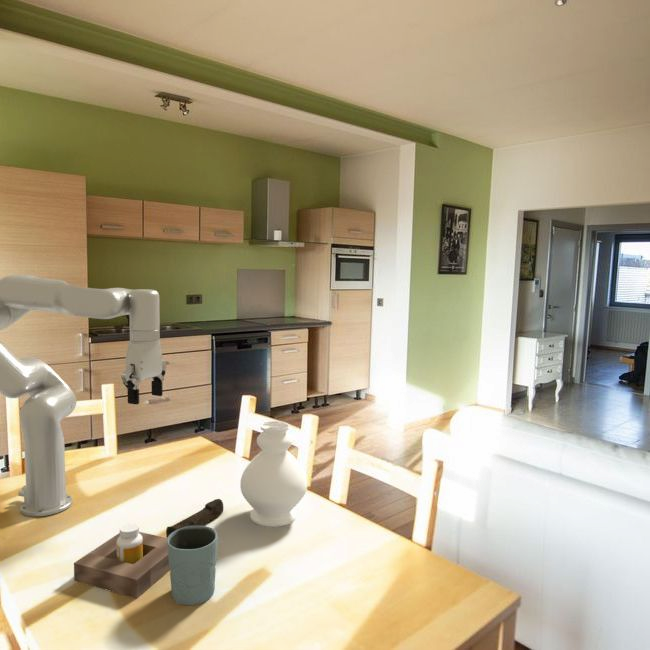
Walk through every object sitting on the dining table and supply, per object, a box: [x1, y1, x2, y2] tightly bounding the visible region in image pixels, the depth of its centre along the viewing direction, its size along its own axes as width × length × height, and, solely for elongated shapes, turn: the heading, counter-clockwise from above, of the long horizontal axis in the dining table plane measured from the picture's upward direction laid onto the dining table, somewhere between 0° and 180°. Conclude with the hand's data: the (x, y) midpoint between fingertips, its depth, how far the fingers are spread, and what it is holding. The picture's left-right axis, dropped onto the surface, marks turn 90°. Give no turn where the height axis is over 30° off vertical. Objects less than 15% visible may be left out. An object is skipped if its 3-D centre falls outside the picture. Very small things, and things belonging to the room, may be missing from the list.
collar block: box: [73, 531, 170, 599], centre depth 118 cm, size 16×16×4 cm
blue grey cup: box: [166, 525, 218, 606], centre depth 110 cm, size 10×10×12 cm
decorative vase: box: [240, 420, 308, 528], centre depth 144 cm, size 18×18×25 cm
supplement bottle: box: [116, 522, 143, 564], centre depth 118 cm, size 5×5×10 cm
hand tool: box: [165, 498, 224, 538], centre depth 138 cm, size 19×4×5 cm, turn 148°
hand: (145, 399), depth 145 cm, fingers open, 9 cm apart
